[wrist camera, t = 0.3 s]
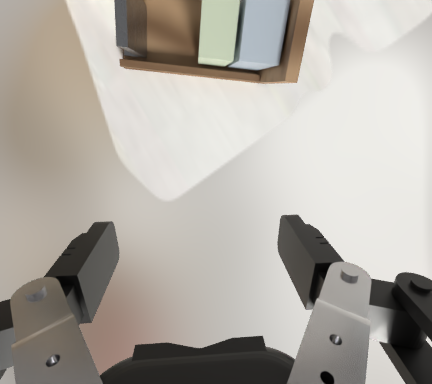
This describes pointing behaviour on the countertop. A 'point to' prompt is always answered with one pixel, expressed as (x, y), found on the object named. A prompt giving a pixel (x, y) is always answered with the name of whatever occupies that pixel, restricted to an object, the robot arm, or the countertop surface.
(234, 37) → the book sage
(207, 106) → the countertop surface
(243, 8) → the book slate
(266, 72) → the book trough
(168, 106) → the countertop surface
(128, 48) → the bookend
